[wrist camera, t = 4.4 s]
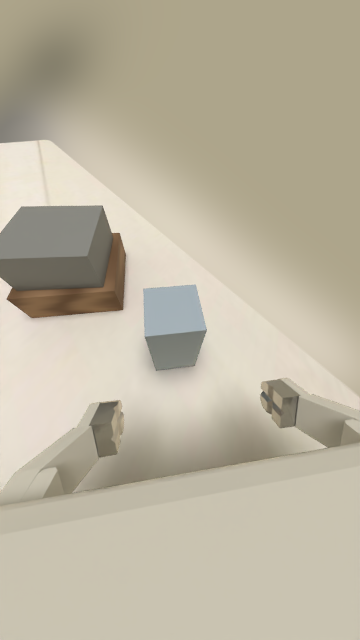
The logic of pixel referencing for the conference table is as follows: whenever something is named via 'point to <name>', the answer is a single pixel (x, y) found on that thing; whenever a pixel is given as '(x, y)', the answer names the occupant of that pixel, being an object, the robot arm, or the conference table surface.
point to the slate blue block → (173, 325)
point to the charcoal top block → (56, 248)
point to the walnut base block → (78, 292)
